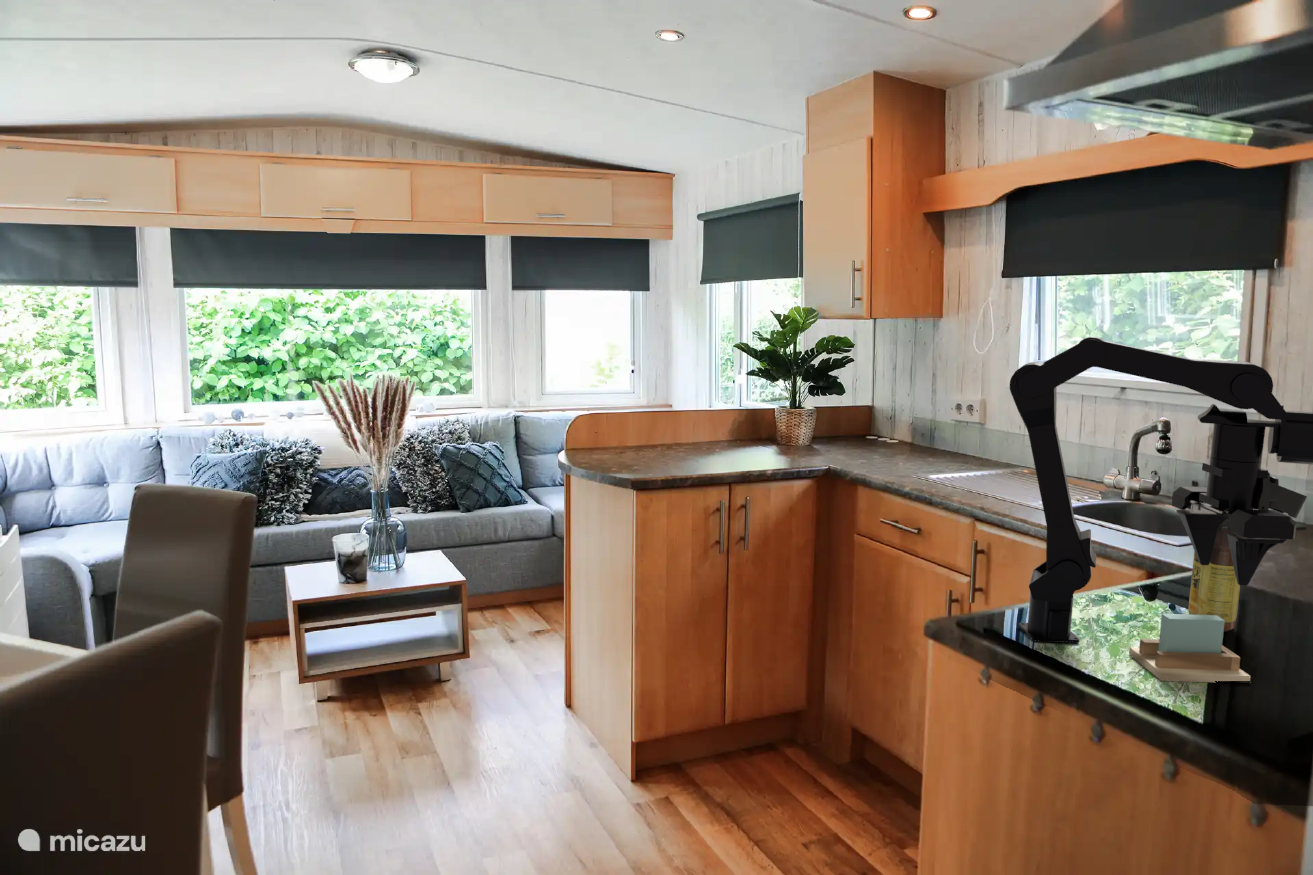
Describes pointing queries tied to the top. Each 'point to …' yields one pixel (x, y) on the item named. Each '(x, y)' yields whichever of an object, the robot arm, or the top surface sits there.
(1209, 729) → the top surface
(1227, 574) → the sauce bottle
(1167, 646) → the slider block
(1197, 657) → the track board
